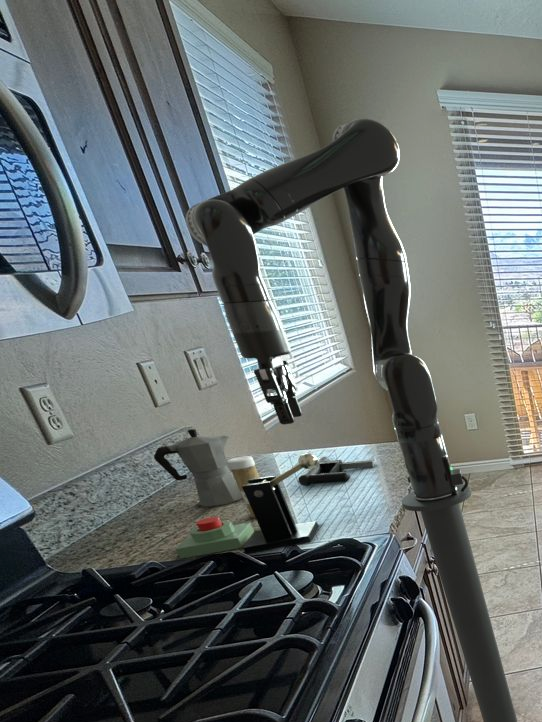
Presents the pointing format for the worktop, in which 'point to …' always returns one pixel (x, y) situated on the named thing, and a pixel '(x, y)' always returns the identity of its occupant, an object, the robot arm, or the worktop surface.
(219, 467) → the coffeepot
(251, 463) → the sprinkles bottle
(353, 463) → the black handled frame
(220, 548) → the button box
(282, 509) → the switch bracket
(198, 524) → the red button
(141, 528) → the worktop surface
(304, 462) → the switch lever
